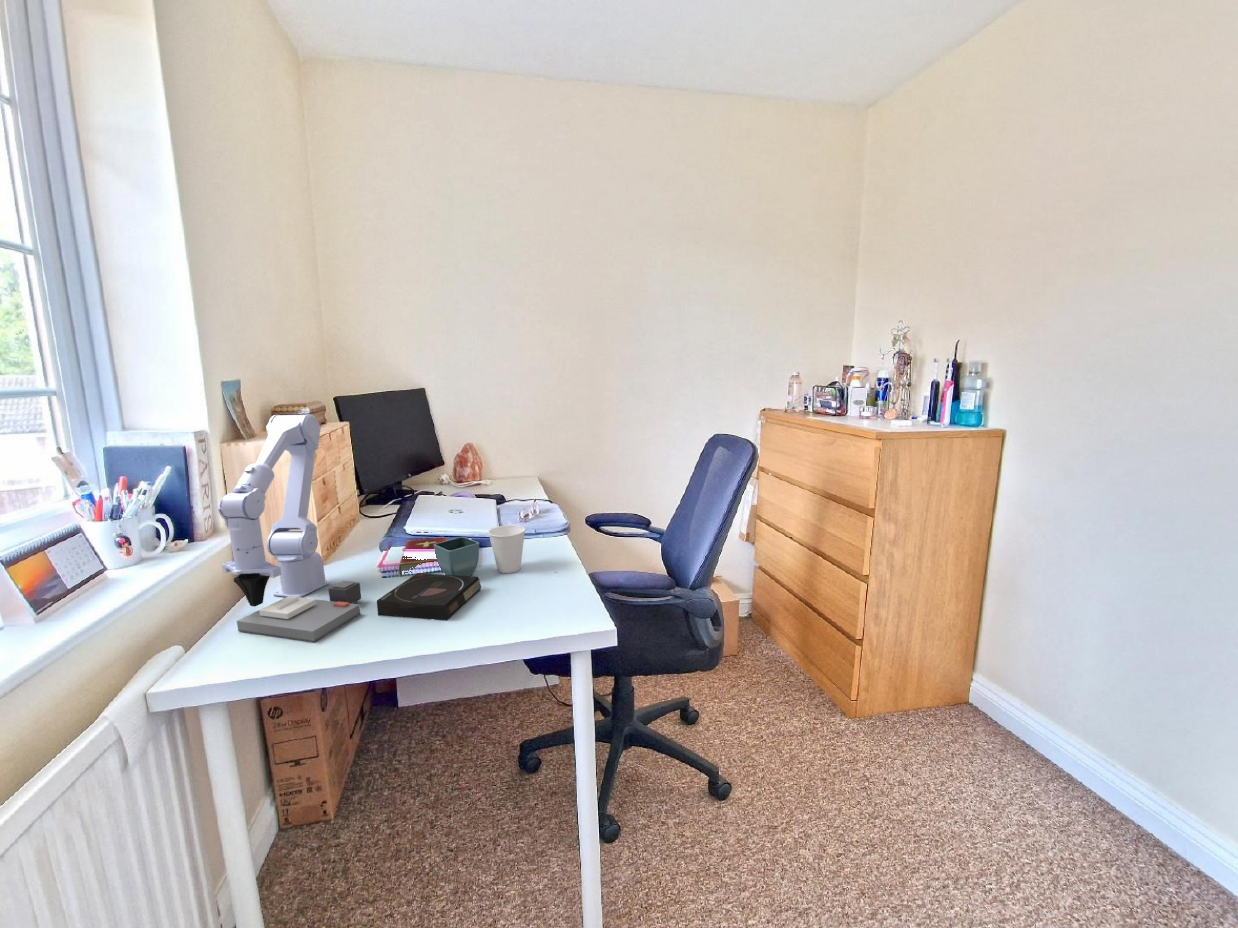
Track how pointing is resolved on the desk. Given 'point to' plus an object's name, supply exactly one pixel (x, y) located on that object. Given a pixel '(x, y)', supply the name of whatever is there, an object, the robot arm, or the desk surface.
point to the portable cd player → (429, 596)
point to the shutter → (287, 607)
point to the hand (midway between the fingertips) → (256, 604)
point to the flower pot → (457, 556)
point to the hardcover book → (418, 544)
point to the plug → (345, 592)
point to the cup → (507, 547)
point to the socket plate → (302, 621)
